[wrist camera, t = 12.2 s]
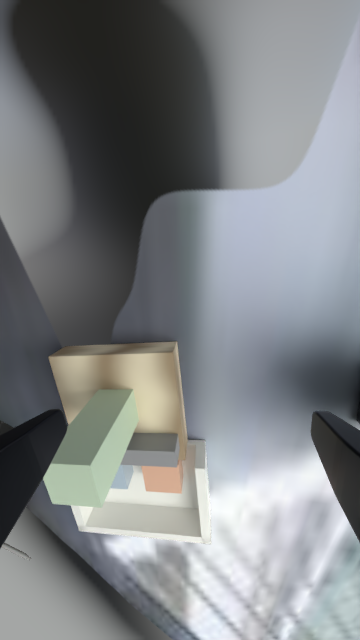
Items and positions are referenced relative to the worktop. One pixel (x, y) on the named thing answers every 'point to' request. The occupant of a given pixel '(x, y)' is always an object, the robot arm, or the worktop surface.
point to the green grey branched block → (104, 449)
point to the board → (126, 382)
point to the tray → (157, 506)
